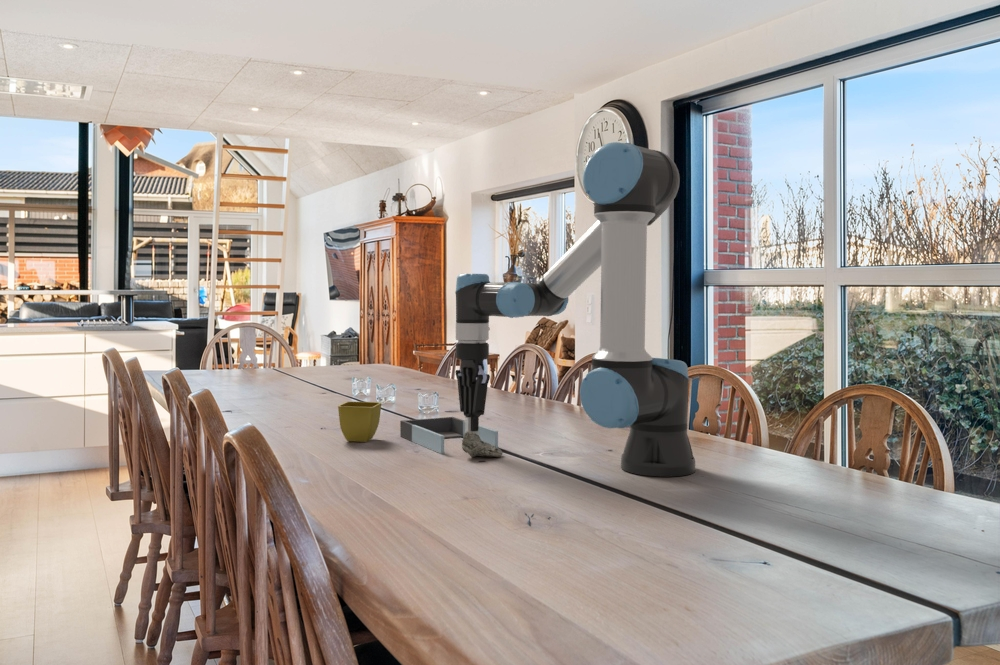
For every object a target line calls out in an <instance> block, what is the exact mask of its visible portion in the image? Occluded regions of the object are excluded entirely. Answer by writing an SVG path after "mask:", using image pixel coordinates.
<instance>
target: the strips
mask: <svg viewBox="0 0 1000 665" xmlns="http://www.w3.org/2000/svg"><path fill="white" fill-rule="evenodd" d="M464 434H465V421H463V437H464ZM463 437H462V438H463ZM479 437H480V439H481V440H482V441H484V442H487V443H489V444H491V445H494V446H496V447H497V448H499V430H495V429H492V428H489V427H487V426H484V425H481V424H479ZM411 442H412V443H415V444H416V445H419V446H422V447H423V448H427V449H429V450H432V451H433V452H436V453H438V454H440V455H442V454H445V439H444V436H443V435H441V434H438V433H435V432H433V431H430V430H427V429H425V428H422V427H419V426H417V425H412V441H411Z"/></svg>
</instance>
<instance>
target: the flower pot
mask: <svg viewBox="0 0 1000 665" xmlns="http://www.w3.org/2000/svg"><path fill="white" fill-rule="evenodd" d="M382 404H383V402H377V401H376V402H375V401H345V402H343V403H341V404H339V405H338V406H337V409H338V420H339V426H340V431H341V432H342V434H343V437H344V438H345V440H346V441H347V442H362V443H367V442H370V441H371V440H372V439H373V438H374V436H375V434H376V432H377V430H378V427H379V425H380V418H381V411H382Z"/></svg>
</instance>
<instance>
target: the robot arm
mask: <svg viewBox="0 0 1000 665" xmlns="http://www.w3.org/2000/svg"><path fill="white" fill-rule="evenodd" d="M679 172H680V171H679V169H678V167H677V164H676V163H675V162H674V160H673V159H672V158H671V157H670V156H669V155H668V154H666V153H664V152H662V151H660V150H655V149H649V148H647V147H643V146H638V145H635V144H633V143H630V142H620V141H619V142H617V141H616V142H609V143H605V144H603V145H602V146H600V147H598V148H597V149H596V150H595V151H594V152H593V154H592V155H591V156H590V157H589V158H588V160H587V162H586V164H585V166H584V170H583V173H582V184H583V189H584V192H585V194H587V195H588V197H589V199H591V200H592V201H593V208H594V209H593V216H594V218H595V219H596V221H595V223H593V224H592V225H591V226H590V227H589V229H587V231H586V232H585V233H584V234H582V235H581V236H580V238H579V239H578V240H577V241H576V242H575V243H574V244H573V245H572V246H571V247H570V248H568V250H567V251H566V252H565V253H564V254H563V255H562V256H561V257H560V258H559V259H558V260H557V261H556V262H555V263H554V264H553V265H552V266H551V267H550V268H549V270H547V271H546V272H545V273H544V274H543V275H542V276H541V277H540V278H539V279H538V280H537V281H536V282H519V281H509V282H507V281H506V282H501V281H500V282H490V276H489V275H488V273H460V274H458V275H457V277H456V284H455V319H456V320H455V340H456V341H457V342H456V343H455V358H456V359H457V360H461V363H460V369H456V370H455V376H456V380H457V390H458V391H457V392H458V400H459V409H460V412H461V413H462V412H463V415H464V417H465V419H464V420H465V433H466V431H468V432H469V433H472V432H473V433H476V434H477V435H479V425H480V424H479V423H480V422H479V418H480V417H481V416H483V415H485V411H486V410H485V409H486V400H487V392H488V385H489V382H490V379H491V378H490V377H491V376H490V374H488V373H485V365H484V360H488V359H489V358H490V356H489V355H490V344H489V343H488V342H487V341H488V340H489V339H490V338H489V336H490V335H489V334H490V333H489V332H490V330H491V329H490V324H489V323H490V317H503V318H504V317H505V318H511V319H513V318H517V319H518V318H524V317H542V316H543V317H551V316H556V315H560V314H562V313H563V312H564V311H565V310H566V308H567V305H568V303H569V296H570V295H572V294H573V293H574V292H575V291H576V290H577V289H578V288H579V287H581V285H582V284H583V283H584V282H585V281H587V279H589V278H590V276H592V275H593V274H594V273H595V272H596V271H597V270H598V269H599V268H601V269H600V270H601V271H600V315H599V316H600V327H599V329H600V330H599V332H600V333H599V349H597V351H596V352H595V353H594V354H593V355H592V356H591V371H589V372H587V374H586V375H585V377H584V378H583V379H582V380H581V383H580V388H579V399H580V404H581V406H582V408H583V411H584V412H585V414H586V415H587V416H588V417H589V418H590V420H592V422H593V423H595V424H596V425H598V426H599V427H601V428H605V429H625V428H629V432H628V437H627V439H626V442H625V445H624V449H623V453H622V454H621V457H620V468H621V469H622V470H623V471H624V472H625V471H626V472H627V473H630V474H633V475H634V474H635V475H641V476H646V477H647V476H649V477H662V478H663V477H682V476H687V475H691V474H693V473H695V472H696V458H695V456H694V453H693V449H692V446H691V441H690V438H689V436H688V412H689V411H688V409H689V408H688V407H689V405H688V404H689V400H688V399H689V381H690V379H689V378H690V377H689V368H688V365H687V363H686V362H685V361H682V360H678V359H670V358H660V357H652V356H651V355H650V353H648V352H647V350H646V348H645V346H646V302H647V301H646V299H647V298H646V296H647V295H646V293H647V249H648V248H647V242H648V240H647V238H648V235H647V234H648V227H649V226H651V225H653V223H654V222H656V220H657V219H659V217H661V216H662V215H663V213H665V212H666V210H668V209H669V207H670V206H671V204H672V203H673V202H674V199H675V198H676V197H677V194H678V191H679V188H680V178H681V177H680V173H679Z"/></svg>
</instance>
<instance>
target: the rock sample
mask: <svg viewBox="0 0 1000 665" xmlns="http://www.w3.org/2000/svg"><path fill="white" fill-rule="evenodd" d="M461 449H462V451H463V452H464V453H466V454H469V456H470V457H471V458H475V457H482V458H483V457H490V458H491V457H494V458H501V457H502V456H503V454H504V452H503V450H502V449H501V448H499V447H498V448H497V447H496V446H494V445H491V444H489V443H487V442H484V441H482V440H481V439H480V437H479V435H477V434H476V433H473V432H472V433H469V432H468V431H466V433H465V434H464V437H462V440H461Z"/></svg>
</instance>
